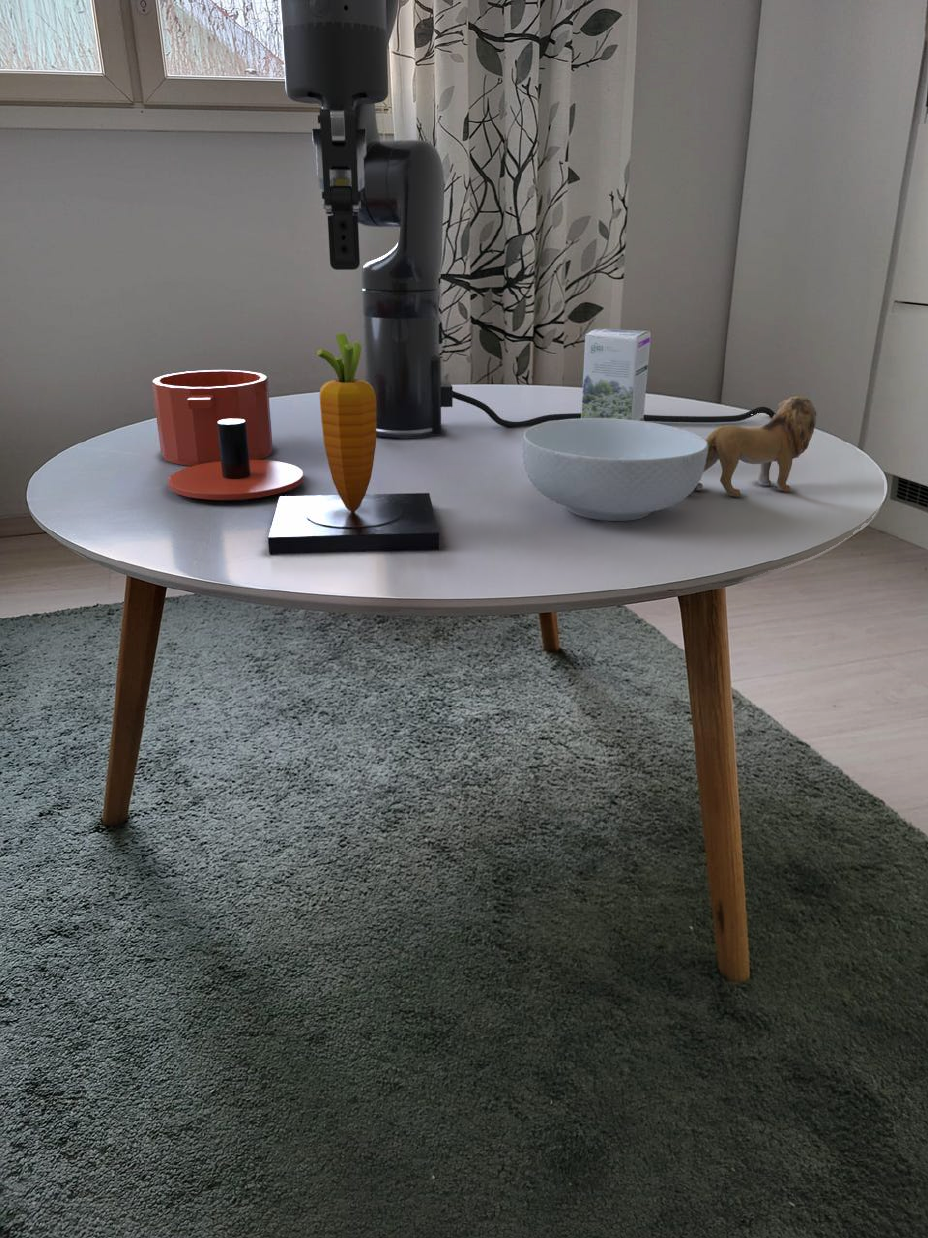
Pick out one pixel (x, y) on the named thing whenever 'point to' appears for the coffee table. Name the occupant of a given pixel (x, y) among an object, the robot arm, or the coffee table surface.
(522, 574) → the coffee table surface
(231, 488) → the pot lid
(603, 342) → the syrup box
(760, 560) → the coffee table surface
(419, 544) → the hob plate
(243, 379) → the pot
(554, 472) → the cereal bowl
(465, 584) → the coffee table surface
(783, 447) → the lion figurine
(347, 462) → the carrot
